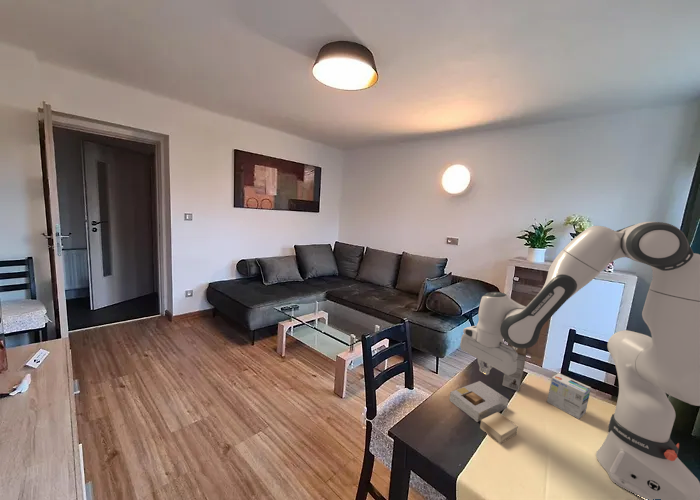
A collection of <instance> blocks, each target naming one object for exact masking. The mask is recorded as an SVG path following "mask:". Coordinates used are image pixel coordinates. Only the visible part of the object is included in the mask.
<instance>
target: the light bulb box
mask: <svg viewBox="0 0 700 500" xmlns="http://www.w3.org/2000/svg"><path fill="white" fill-rule="evenodd" d="M550 380H551V381H550V384H549V389H548V393H547V399H546V403H548V404H550V405H552V406H554V407H555V408H557V409H559V410H561V411H563V412H565V413H567V414H568V415H570V416H572V417H574V418H576V419H578V420H579V419H581V418H582V417H583V416H584V415H585V414H587V413H586V411H587V408H588V404H589V399H590V394H591V389H592V387H591V386H589V385H587V384H584V383H582V382H580V381H578V380H575V379H573V378H571V377H569V376H566V375H564V374H562V373H560V372H558V373H557V374H555V375H553V376H551V379H550Z"/></svg>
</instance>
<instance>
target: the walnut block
mask: <svg viewBox="0 0 700 500" xmlns="http://www.w3.org/2000/svg"><path fill="white" fill-rule="evenodd" d="M466 399H467V400H468V401H469V402H471V403H472V404H473V405H475V406H476V405H478V404H480V403H482V400H483V398H481V397H480V396H478V395H477V394H475V393H474V392H472V393H469V394H467V395H466Z"/></svg>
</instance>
